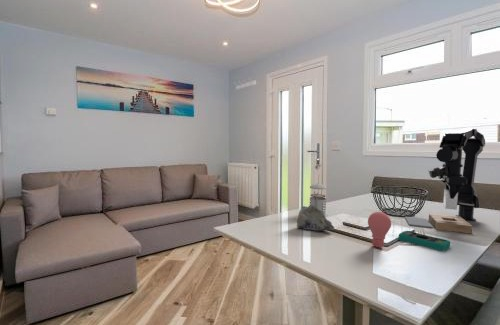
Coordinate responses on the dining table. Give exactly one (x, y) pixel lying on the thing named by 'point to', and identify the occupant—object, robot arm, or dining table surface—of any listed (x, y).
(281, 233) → the dining table surface
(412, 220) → the grey flat slab
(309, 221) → the mineral rock
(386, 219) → the light bulb
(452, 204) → the steel peg
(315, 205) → the french press
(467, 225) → the walnut socket block
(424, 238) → the digital multimeter
